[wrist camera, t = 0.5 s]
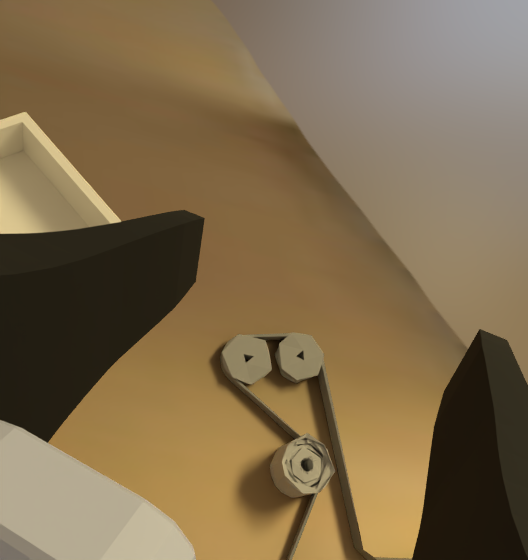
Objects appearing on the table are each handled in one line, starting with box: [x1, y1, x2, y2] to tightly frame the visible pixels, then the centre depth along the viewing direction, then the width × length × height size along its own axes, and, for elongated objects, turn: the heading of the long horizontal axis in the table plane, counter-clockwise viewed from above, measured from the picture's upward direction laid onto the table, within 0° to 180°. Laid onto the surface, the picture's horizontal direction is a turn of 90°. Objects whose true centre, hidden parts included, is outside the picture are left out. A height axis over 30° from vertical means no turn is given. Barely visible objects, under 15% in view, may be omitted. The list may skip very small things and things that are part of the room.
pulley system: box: [220, 333, 412, 560], centre depth 27 cm, size 27×5×15 cm
